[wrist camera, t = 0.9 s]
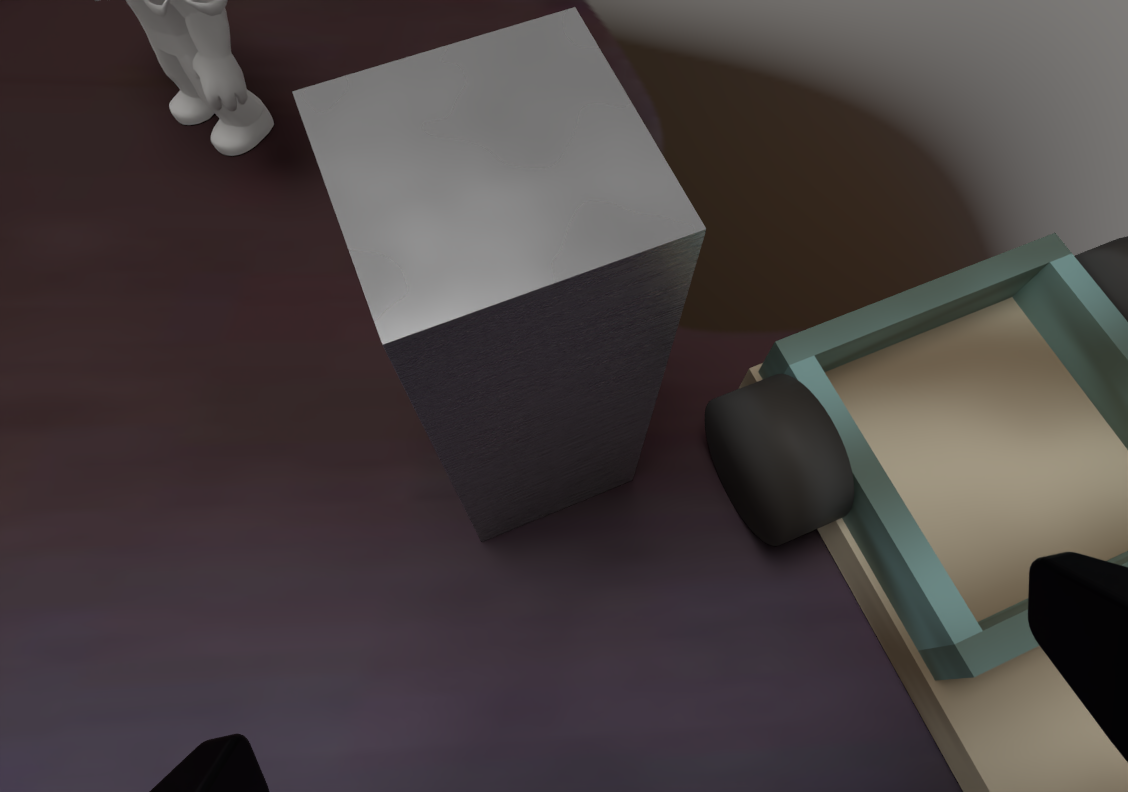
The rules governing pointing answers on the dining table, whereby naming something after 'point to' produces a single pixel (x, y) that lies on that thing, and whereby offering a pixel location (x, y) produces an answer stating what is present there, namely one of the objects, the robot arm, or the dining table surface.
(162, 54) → the flower shoulder figurine
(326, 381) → the dining table surface
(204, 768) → the robot arm
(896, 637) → the toy car chassis
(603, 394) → the tall gray rectangular block
